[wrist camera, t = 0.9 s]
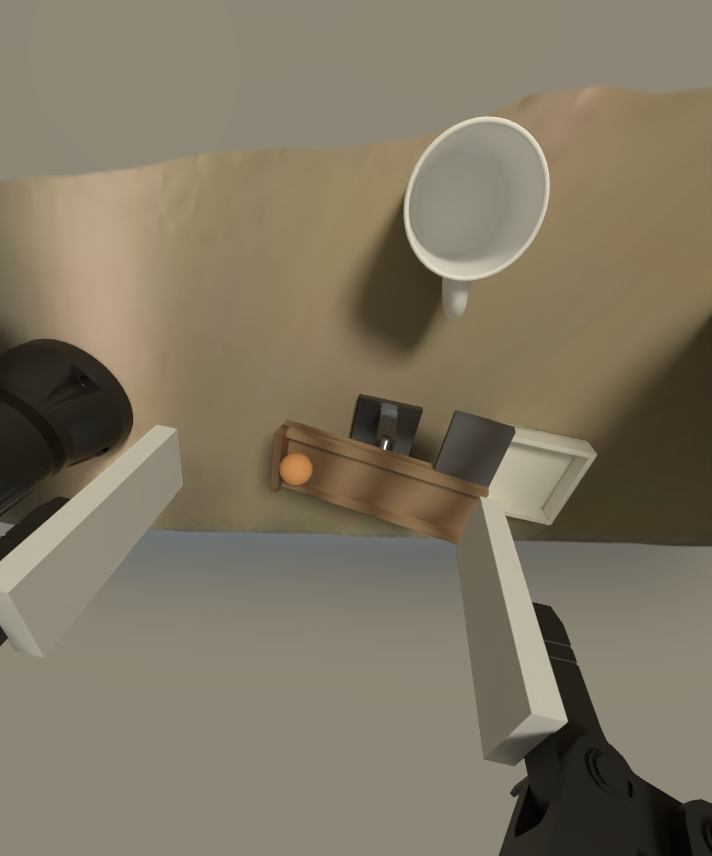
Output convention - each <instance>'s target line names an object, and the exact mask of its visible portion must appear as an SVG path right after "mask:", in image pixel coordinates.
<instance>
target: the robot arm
mask: <svg viewBox="0 0 712 856" xmlns="http://www.w3.org/2000/svg"><path fill="white" fill-rule="evenodd" d="M132 421H133V417H132V409H131V406H130V402H129V400H128V397H127V395H126V393H125V391H124V390H123V388H122V386H121V385H120V383H119V382H118V381H117V379H116V378H115V377H114V376H113V374H112V373H111V372H110V371H109V370H108V369H107V368H106V367H105V366H104V365H103V364H101V363H100V362H99V361H98V360H97V359H95V358H94V357H93V356H91V355H90V354H88V353H87V352H85V351H83V350H81V349H79V348H78V347H75V346H73V345H71V344H68V343H65V342H62V341H58V340H53V339H36V340H32V341H29V342H26V343H24V344H21V345H18V346H15V347H13V348H11V349H9V350H8V351H6V352H5V353H4V354H3V355H2V356H1V357H0V517H1V516H3V515H4V514H5V513H6V512H8V511H9V510H10V509H12V508H13V507H14V506H15V505H17V504H18V503H19V502H21V501H22V500H23V499H24V498H26V497H27V496H28V495H29V494H31V493H32V492H33V491H35V490H36V489H37V488H38V487H40V486H41V485H42V484H44V483H45V482H46V481H48V480H49V479H50V478H51V477H53V476H54V475H55V474H57V473H58V472H60V471H61V470H62V469H65V468H68V467H70V466H73V465H76V464H79V463H81V462H84V461H87V460H90V459H92V458H94V457H98V456H101V455H104V454H106V453H108V452H109V451H111V450H113V449H114V448H115V447H116V446H118V445H119V444H120V443H121V442H122V441H124V440H125V439H126V438H127V436H128V435H129V433H130V431H131V428H132ZM182 486H183V480H182V471H181V461H180V452H179V442H178V433H177V429H174V428H169V427H165V426H160V425H156V426H155V427H154V428H152V429H151V430H150V431H149V432H148V433H147V434H146V435H144V436H143V437H142V438H141V439H140V440H139V441H138V442H136V443H135V444H134V445H133V446H132V447H131V448H129V449H128V450H127V451H126V452H125V453H124V454H123V455H121V456H120V457H119V458H118V459H117V460H116V461H115V462H113V463H112V464H111V465H110V466H109V467H108V468H107V469H105V470H104V471H103V472H102V473H101V474H100V475H99V476H97V477H96V478H95V479H94V480H93V481H92V482H91V483H89V484H88V485H87V486H86V487H85V488H84V489H83V490H81V491H80V492H79V493H78V494H77V495H76V496H74V497H73V498H72V499H68V498H64V497H57V498H55V499H53V500H51V501H49V502H47V503H45V504H43V505H41V506H39V507H37V508H36V509H35V510H33V511H32V512H31V513H30V514H28V515H27V516H26V517H25V518H24V519H22V520H21V521H20V523H19V524H16V525H15V526H14V527H12V529H10V530H9V531H8V532H6V535H5V536H1V538H0V646H1V645H2V644H3V643H4V642H5V640H6V639H8V641H9V642H10V644H11V645H12V647H13V648H14V650H15V651H19V652H23V653H27V654H32V655H36V656H40V657H45V656H46V655H47V653H48V652H49V651H50V650H51V648H52V647H53V646H54V645H55V643H56V642H57V641H58V640H59V639H60V637H61V636H62V635H63V634H64V632H65V631H66V630H67V629H68V627H69V626H70V625H71V624H72V622H73V621H74V620H75V619H76V617H77V616H78V615H79V614H80V612H81V611H82V610H83V609H84V607H85V606H86V605H87V604H88V603H89V601H90V600H91V599H92V598H93V596H94V595H95V594H96V593H97V591H98V590H99V589H100V588H101V586H102V585H103V584H104V583H105V582H106V580H107V579H108V578H109V576H110V575H111V574H112V573H113V572H114V570H115V569H116V568H117V567H118V565H119V564H120V563H121V562H122V560H123V559H124V558H125V557H126V555H127V554H128V553H129V552H130V550H131V549H132V548H133V547H134V546H135V544H136V543H137V542H138V541H139V539H140V538H141V537H142V536H143V534H144V533H145V532H146V531H147V529H148V528H149V527H150V526H151V524H152V523H153V522H154V521H155V520H156V518H157V517H158V516H159V515H160V513H161V512H162V511H163V510H164V508H165V507H166V506H167V505H168V503H169V502H170V501H171V500H172V498H173V497H174V496H175V495H176V493H177V492H178V491H179V490H180V489H181V487H182ZM456 553H457V560H458V568H459V576H460V583H461V591H462V598H463V606H464V613H465V621H466V629H467V636H468V644H469V652H470V659H471V667H472V675H473V681H474V690H475V697H476V705H477V713H478V719H479V728H480V735H481V743H482V750H483V758H484V759H485V760H490V761H493V762H498V763H502V764H507V765H511V766H515V765H516V764H517V763H519V762H520V761H521V760H522V759H523V758H524V759H525V763H526V769H527V773H528V776H527V777H526V778H524V779H523V780H522V781H520V782H519V783H518V784H516V785H515V786H514V788H513V789H512V791H511V792H510V794H511V795H512V796H513V797H516V796H517V795H518V794H519V797H518V799H517V802H516V805H515V808H514V811H513V814H512V818H511V820H510V823H509V827H508V829H507V833H506V835H505V838H504V841H503V844H502V848H501V850H500V853H499V856H712V803H709V802H706V801H704V800H702V799H700V800H692V801H689V802H687V803H684V804H683V803H681V802H679V801H678V800H676V799H674V798H673V797H671V796H669V795H668V794H666V793H664V792H663V791H661V790H659V789H658V788H656V787H654V786H653V785H651V784H649V783H648V782H646V781H645V780H643V779H642V778H640V777H639V776H637V775H636V774H635V773H633V771H632V770H631V768H630V767H629V765H628V763H627V762H626V760H625V759H624V757H623V756H622V755H621V754H619V752H617V750H616V749H615V748H614V747H612V745H610V744H609V743H608V742H607V740H606V738H605V736H604V734H603V732H602V729H601V727H600V724H599V721H598V718H597V716H596V713H595V711H594V708H593V705H592V702H591V699H590V696H589V694H588V691H587V688H586V685H585V683H584V680H583V677H582V674H581V672H580V669H579V666H577V664H576V662H577V661H576V658H575V655H574V653H573V650H572V649H571V647H570V646H571V644H570V641H569V639H568V636H567V633H566V630H565V628H564V625H563V623H562V622H561V621H560V619H559V618H558V616H557V615H556V613H555V612H554V611H553V609H552V608H551V606H547V605H542V604H538V603H534V602H531V598H530V595H529V592H528V589H527V585H526V582H525V578H524V575H523V572H522V569H521V566H520V562H519V559H518V556H517V552H516V549H515V546H514V542H513V539H512V536H511V532H510V529H509V526H508V522H507V519H506V516H505V513H504V509H503V506H502V503H501V501H499V500H494V499H490V498H485V497H481V496H480V498H479V500H478V502H477V504H476V506H475V508H474V510H473V512H472V514H471V516H470V518H469V520H468V522H467V524H466V526H465V528H464V530H463V532H462V535H461V537H460V539H459V541H458V543H457V545H456Z"/></svg>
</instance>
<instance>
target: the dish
mask: <svg viewBox="0 0 712 856" xmlns="http://www.w3.org/2000/svg"><path fill="white" fill-rule="evenodd" d="M493 421H494V420H493ZM496 422H498V421H496ZM500 423H503V422H500ZM503 424H507V423H503ZM507 425H510V426H514V427H515V431H516V433H515V435H514V437H513V439H512V441H511V443H510V445H509V447H508V449H507V451H506V454H505V456H504V458H503V460H502V462H501V464H500V466H499V468H498V470H497V472H496V474H495V476H494V478H493V480H492V482H491V484H490V486H489V495H488V497H487V498H490V499H494V500H499V501H501V503H502V506H503V509H504V513H505V515H506V516H510V517H515V518H519V519H523V520H528V521H532V522H537V523H541V524H546V525H551V524H552V522H553V521H554V519H555V518H556V516H557V515H558V513H559V512H560V510H561V509H562V507H563V506H564V504H565V503H566V501H567V500H568V498H569V497H570V495H571V494H572V492H573V491H574V489H575V488H576V486H577V485H578V483H579V482H580V480H581V479H582V477H583V476H584V474H585V473H586V471H587V470H588V468H589V467H590V465H591V464H592V462H593V461H594V459H595V458H596V456H597V453H596V452H595V451H594V449H593V448H592V447H591V445H590V444H589V443H588V441H585V440H581V439H576V438H572V437H567V436H562V435H558V434H553V433H549V432H544V431H540V430H535V429H530V428H526V427H521V426H517V425H512V424H507Z"/></svg>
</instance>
